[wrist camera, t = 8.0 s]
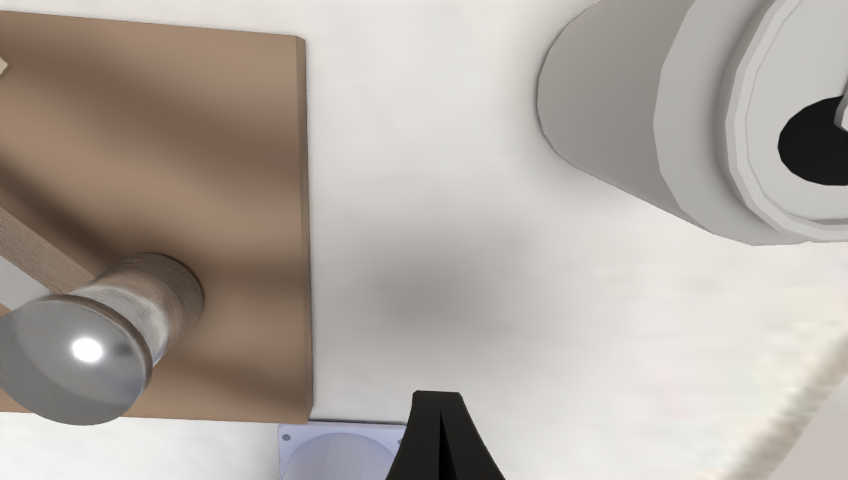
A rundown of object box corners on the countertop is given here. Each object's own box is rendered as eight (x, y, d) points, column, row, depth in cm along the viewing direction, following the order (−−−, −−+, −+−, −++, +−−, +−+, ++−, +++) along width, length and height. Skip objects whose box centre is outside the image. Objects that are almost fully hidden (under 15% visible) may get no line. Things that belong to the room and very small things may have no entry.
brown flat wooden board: (313, 405, 25) (305, 428, 23) (-35, 390, 24) (-69, 413, 22) (304, 25, 18) (292, 18, 16) (-192, -19, 17) (-260, -31, 15)
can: (516, 161, 20) (649, 255, 9) (552, -15, 17) (810, -210, 6) (662, 180, 20) (970, 292, 9) (719, 11, 18) (1243, -122, 7)
